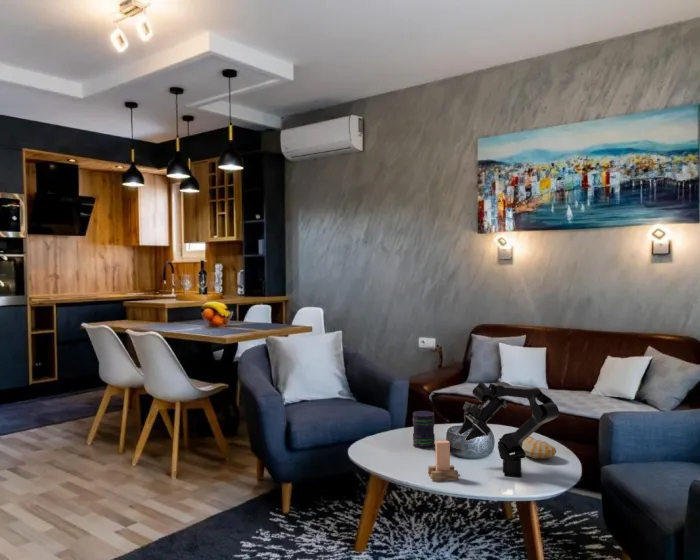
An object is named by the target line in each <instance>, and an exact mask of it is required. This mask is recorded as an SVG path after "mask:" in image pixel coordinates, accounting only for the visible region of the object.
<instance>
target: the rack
mask: <svg viewBox="0 0 700 560" xmlns="http://www.w3.org/2000/svg"><path fill="white" fill-rule="evenodd" d="M427 474H429V475H428V476H429V478H430V480H431V479H432V480H431V481H432V482H447V481H446V480H455V481H459V471H458V470H457V469H455V466H454V465H453V464H450V470H447V471H436V465H428V467H427Z"/></svg>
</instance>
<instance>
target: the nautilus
mask: <svg viewBox="0 0 700 560" xmlns="http://www.w3.org/2000/svg"><path fill="white" fill-rule="evenodd" d="M522 448H523V450H524V451H525V453H526V455H525V457H526V456H527V457H530V458H533V459H536V460H537V459H538V460H539V459H540V460H541V459H547V458H548V459H549V458H552V457H554V456H555V455H556V454H557V449H556V448H555V446H553V445H551V444H549V443H548V442H546V441H544V440H541V439H535V438H533V437H531V436H529V437H528V438H526V439H525V440H524V441H523V445H522Z"/></svg>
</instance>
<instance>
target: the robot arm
mask: <svg viewBox="0 0 700 560" xmlns="http://www.w3.org/2000/svg"><path fill="white" fill-rule="evenodd" d="M472 395H473V397H475V398H476V399H477V400H479V402H480V403H482V404H478V405H477V404H475V403H470V402H468V401H465V402H464V404H463V407H462V409H463V410H464V412H463V414H464V415H463V419H464V420H463V423H462V425H461V427H460V428H459V431H458V434H459V435H463V434H464V433H465V432H468V431H469V430H470V431H469V432H468V433H469V434H468V435H467V437H466V438H465V440H466V441H469V440H471V439H474V438H477V437H480V436H482V437H483V436H488V435H490V433H491V427H490V426H488V421H489V420H490V419H494V418H495V417H494V415H495V414H496V413H497V412H498V411H499V410H500V409H501V408H502V407H503V408H504V409H507V404H508V403H507V401H506V399H502V397H512V398H520V399H521V398H522V399H527V400H528V403H529V408H530V409H531V410H532V412H531V417H529V418H528V419H527V420H526V421H525V422H524V423H523V424H521V426H520V427H519V428H518V429H516V431H513V432H512V431H511V432H508V433H504V434H503V435H502V436H501V438H498V441H497V449H498V454H499V458H500V459H501V460H502V473H503V475H504V477H514V478H515V477H516V478H517V477H518V478H522V477H523V476H522V459H525V458H526V453H525V451H524V450H523V448H522V445H523V441H524V440H525V439H526V438H529V437H531V436H532V434H534V433H535V432H536V431H537V430H538V429H539V428H540V427H541V426H542V425H543V424H546V423H548V422H551V421H553V420H555V419H556V418H559V415H560V410H559V407H558V405H557V404H556V403H555V402H554V401H553V400H552V398H550V397H549V396H547V395H546V394H545V393H543V392H542V390H541V389H540V388H539V387H527V386H517V385H512V384H510V383H509V382H506V381H498V382H491V383H489V385H488V386H487V385H486V384H485V383H484V382H478V385H476V386H475V387H474V388H473V389H472ZM537 401H539V402H540V404H539V403H538V402H537Z"/></svg>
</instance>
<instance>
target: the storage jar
mask: <svg viewBox="0 0 700 560" xmlns="http://www.w3.org/2000/svg"><path fill="white" fill-rule="evenodd" d="M412 426H413V433H412V441H413V444H412V445H413V447H414V448H416V449H421V450H430V449H433V448H435V441H436V439H435V438H436V437H435V433H434V432H435V430H434V429H435V428H434V427H435V413H434V412H433V411H430V410H416V411H413V412H412Z"/></svg>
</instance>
